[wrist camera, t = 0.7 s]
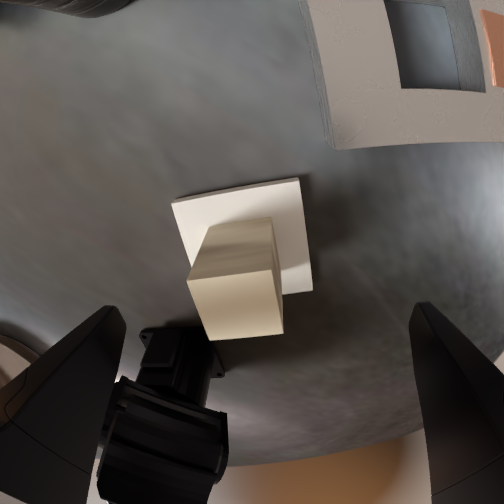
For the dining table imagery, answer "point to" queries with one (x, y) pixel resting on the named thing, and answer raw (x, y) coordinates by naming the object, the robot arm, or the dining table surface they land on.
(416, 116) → the plate
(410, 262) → the dining table surface
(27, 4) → the supplement bottle
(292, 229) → the white square tile
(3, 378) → the plant saucer
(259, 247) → the birch peg
